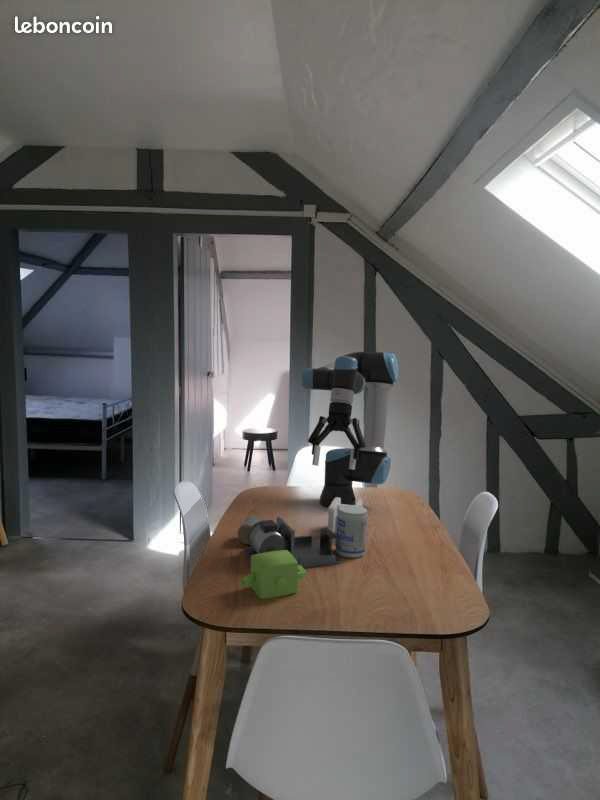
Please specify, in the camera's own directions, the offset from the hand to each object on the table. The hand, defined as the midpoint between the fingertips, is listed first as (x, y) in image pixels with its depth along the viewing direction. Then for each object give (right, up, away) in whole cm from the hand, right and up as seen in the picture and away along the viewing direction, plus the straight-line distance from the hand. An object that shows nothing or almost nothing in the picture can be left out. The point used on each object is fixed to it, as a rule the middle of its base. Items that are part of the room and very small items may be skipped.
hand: (333, 467), depth 179 cm
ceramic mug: (-26, -26, +6) cm, 37 cm away
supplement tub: (+6, -28, -1) cm, 28 cm away
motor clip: (-13, -27, -6) cm, 31 cm away
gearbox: (-18, -30, -30) cm, 46 cm away
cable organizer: (+5, -26, +17) cm, 32 cm away
